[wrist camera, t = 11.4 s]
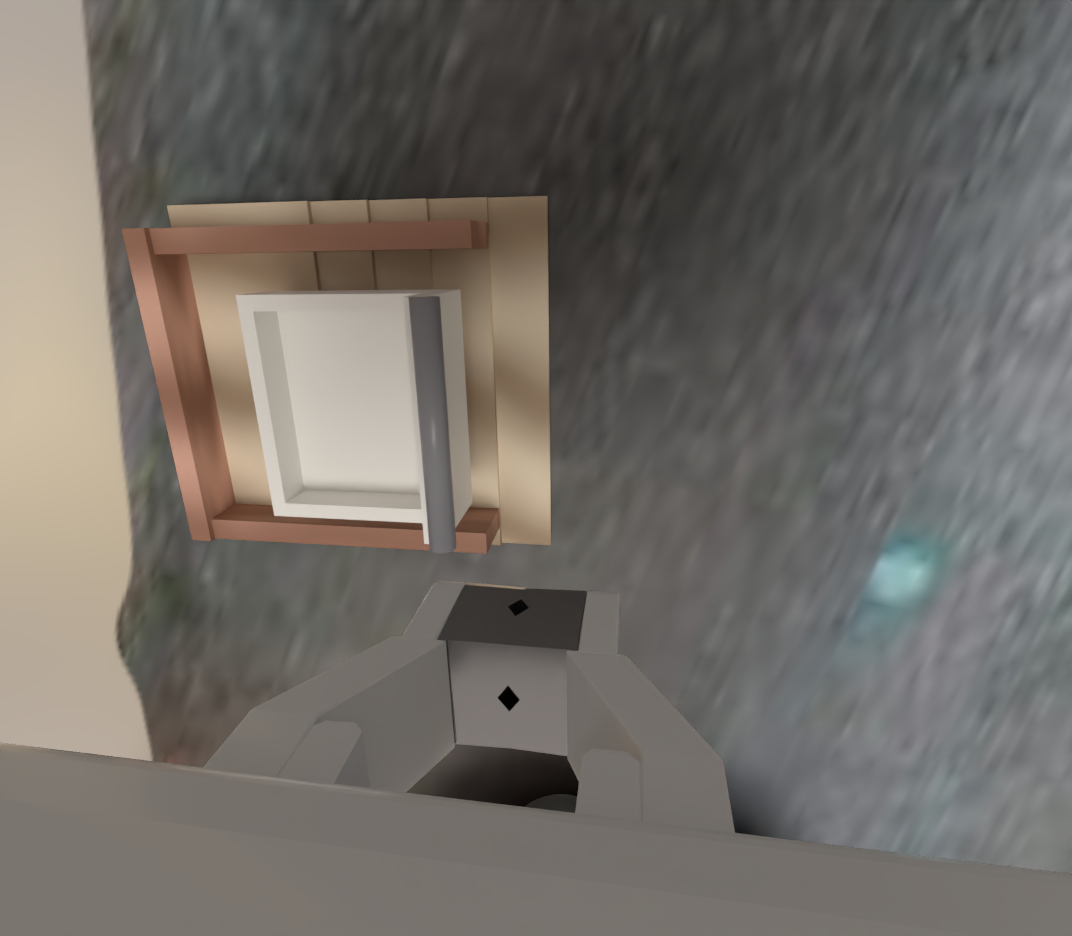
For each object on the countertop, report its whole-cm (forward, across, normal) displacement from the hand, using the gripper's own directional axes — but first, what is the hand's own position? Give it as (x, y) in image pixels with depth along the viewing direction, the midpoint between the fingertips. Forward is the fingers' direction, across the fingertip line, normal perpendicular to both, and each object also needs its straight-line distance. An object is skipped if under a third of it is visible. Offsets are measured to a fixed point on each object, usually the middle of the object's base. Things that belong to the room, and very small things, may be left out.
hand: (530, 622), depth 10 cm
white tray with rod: (+17, +9, 0) cm, 20 cm away
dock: (+19, +11, 0) cm, 22 cm away
